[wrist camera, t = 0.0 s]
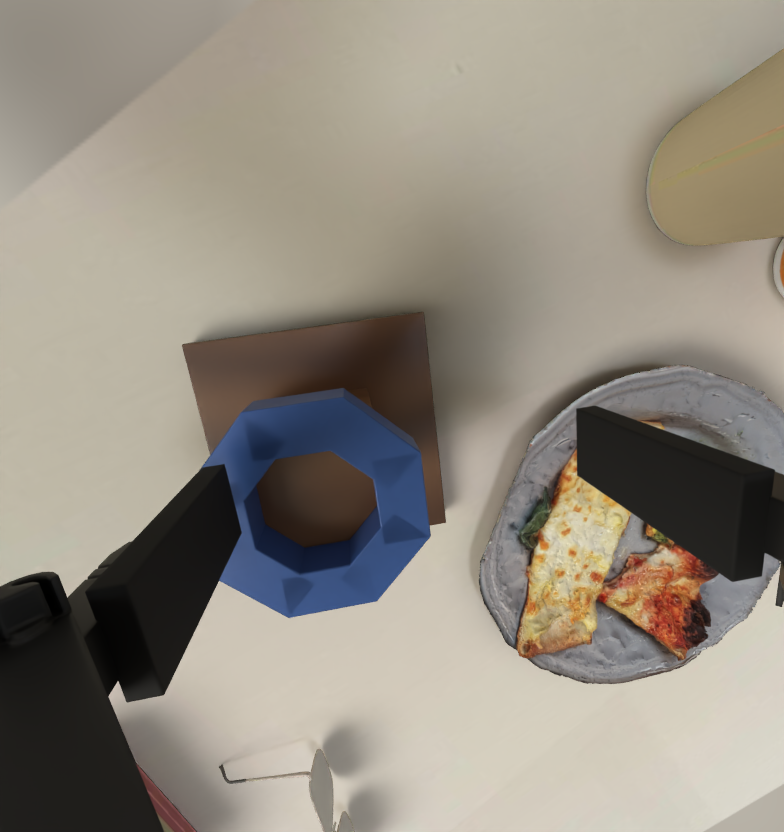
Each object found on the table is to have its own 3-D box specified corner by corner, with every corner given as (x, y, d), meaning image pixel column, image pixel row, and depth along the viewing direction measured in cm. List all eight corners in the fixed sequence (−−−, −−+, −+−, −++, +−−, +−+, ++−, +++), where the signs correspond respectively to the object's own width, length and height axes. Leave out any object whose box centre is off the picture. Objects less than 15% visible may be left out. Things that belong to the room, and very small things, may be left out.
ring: (187, 410, 16) (166, 423, 14) (405, 378, 17) (413, 386, 15) (237, 598, 19) (225, 630, 17) (428, 563, 19) (437, 590, 17)
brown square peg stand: (191, 342, 24) (104, 357, 15) (419, 312, 25) (458, 309, 16) (242, 547, 28) (195, 652, 19) (441, 512, 29) (482, 597, 20)
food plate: (681, 681, 35) (716, 720, 32) (435, 638, 31) (445, 677, 28) (825, 416, 30) (886, 429, 27) (554, 324, 26) (585, 325, 23)
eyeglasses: (361, 845, 36) (359, 911, 32) (275, 864, 36) (262, 931, 32) (316, 731, 32) (307, 789, 28) (220, 753, 32) (199, 813, 29)
